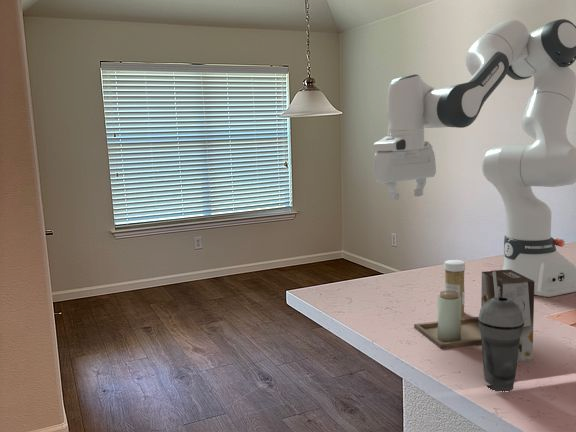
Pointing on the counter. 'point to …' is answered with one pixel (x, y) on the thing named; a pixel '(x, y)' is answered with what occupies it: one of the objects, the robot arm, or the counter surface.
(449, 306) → the jar
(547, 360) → the counter surface
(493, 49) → the robot arm
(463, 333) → the tray
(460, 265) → the sprinkles bottle
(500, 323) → the beverage cup
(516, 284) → the coffee box
